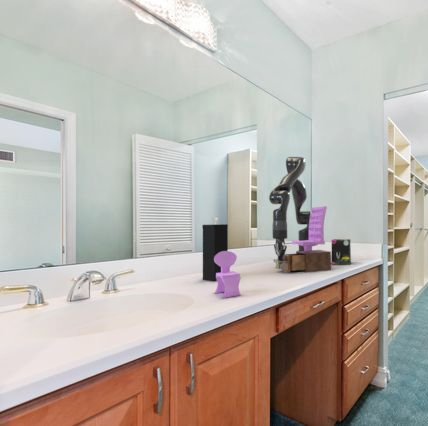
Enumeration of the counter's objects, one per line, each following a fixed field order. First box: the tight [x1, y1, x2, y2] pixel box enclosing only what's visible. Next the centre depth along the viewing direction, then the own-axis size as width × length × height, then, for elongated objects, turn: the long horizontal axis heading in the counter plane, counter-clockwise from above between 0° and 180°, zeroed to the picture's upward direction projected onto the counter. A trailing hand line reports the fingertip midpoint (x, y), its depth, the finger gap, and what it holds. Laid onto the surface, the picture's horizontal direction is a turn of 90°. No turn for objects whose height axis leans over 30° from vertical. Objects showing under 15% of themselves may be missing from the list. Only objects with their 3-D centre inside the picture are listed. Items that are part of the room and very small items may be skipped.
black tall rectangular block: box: [202, 216, 229, 282], centre depth 127 cm, size 8×8×28 cm
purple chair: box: [291, 205, 328, 251], centre depth 170 cm, size 15×17×35 cm
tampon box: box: [330, 238, 352, 266], centre depth 171 cm, size 11×9×15 cm
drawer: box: [273, 252, 306, 273], centre depth 145 cm, size 18×11×8 cm, turn 115°
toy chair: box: [214, 250, 241, 299], centre depth 99 cm, size 8×9×15 cm
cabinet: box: [295, 249, 332, 273], centre depth 150 cm, size 15×13×10 cm
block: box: [275, 258, 280, 269], centre depth 158 cm, size 4×4×4 cm
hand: (280, 263), depth 142 cm, fingers closed
